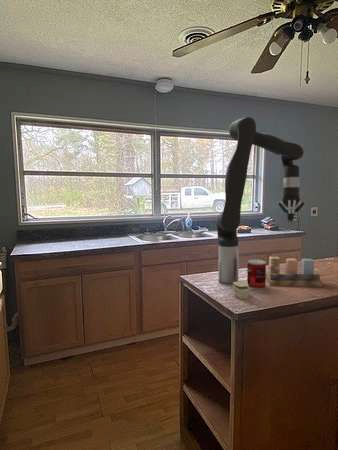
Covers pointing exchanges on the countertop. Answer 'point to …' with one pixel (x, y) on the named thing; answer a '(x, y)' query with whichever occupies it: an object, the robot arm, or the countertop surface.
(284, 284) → the wooden board with bar
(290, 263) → the salmon orange block
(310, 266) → the slate key
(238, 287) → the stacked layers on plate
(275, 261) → the maple key
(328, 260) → the countertop surface
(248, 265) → the canned food
